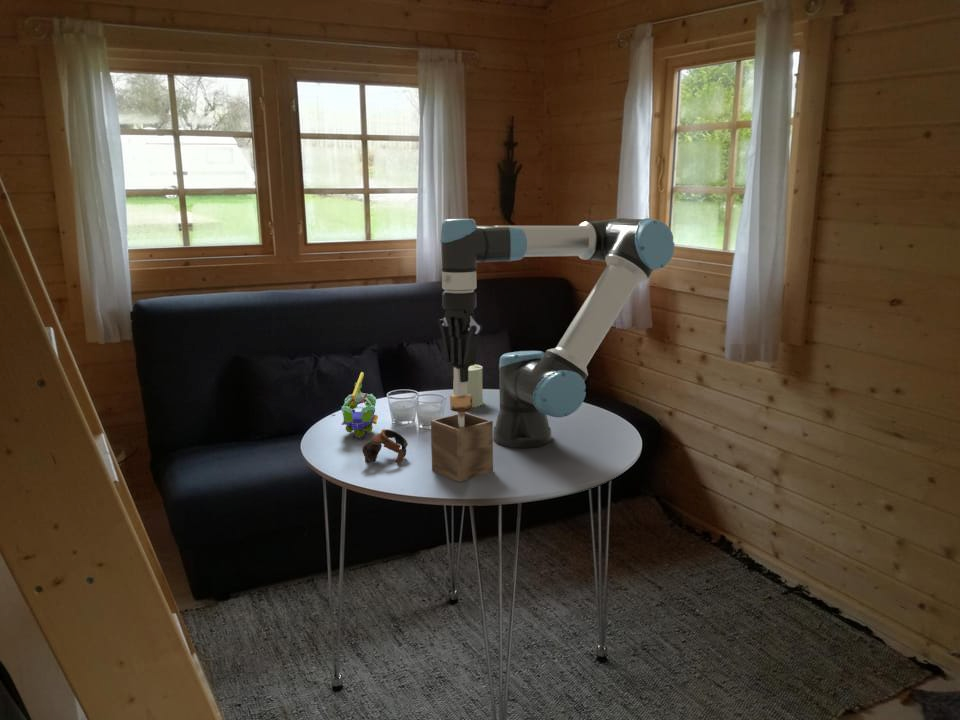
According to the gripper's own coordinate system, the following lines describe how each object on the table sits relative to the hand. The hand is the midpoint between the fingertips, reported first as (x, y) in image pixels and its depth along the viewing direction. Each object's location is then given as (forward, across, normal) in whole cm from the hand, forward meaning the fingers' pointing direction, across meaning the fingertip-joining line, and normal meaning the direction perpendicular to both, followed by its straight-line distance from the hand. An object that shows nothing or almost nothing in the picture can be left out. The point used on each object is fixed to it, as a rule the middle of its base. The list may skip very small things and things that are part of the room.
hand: (460, 394), depth 164 cm
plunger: (+17, 0, 0) cm, 17 cm away
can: (+18, -42, +37) cm, 59 cm away
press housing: (+18, 0, 0) cm, 18 cm away
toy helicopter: (+18, -38, -3) cm, 43 cm away
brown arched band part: (+19, -18, -10) cm, 28 cm away
